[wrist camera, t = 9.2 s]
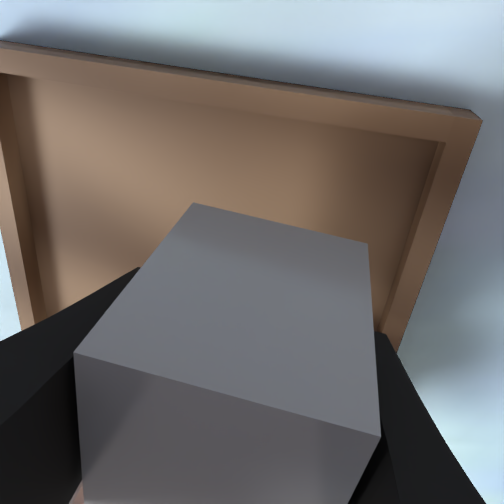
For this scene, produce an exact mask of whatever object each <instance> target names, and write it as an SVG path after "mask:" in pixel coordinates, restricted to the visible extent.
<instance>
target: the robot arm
mask: <svg viewBox="0 0 504 504" xmlns="http://www.w3.org/2000/svg"><path fill="white" fill-rule="evenodd" d="M139 269H140V267H137V268H135V269H133V270H132V271H130V272H128V273H126V274H124V275H123V276H121V277H119V278H117V279H116V280H114V281H112V282H111V283H109V284H107V285H105V286H104V287H102V288H100V289H99V290H97V291H95V292H93V293H92V294H90V295H88V296H86V297H85V298H83V299H81V300H79V301H77V302H76V303H74V304H72V305H70V306H68V307H67V308H65V309H63V310H61V311H59V312H58V313H56V314H54V315H52V316H50V317H48V318H46V319H44V320H42V321H40V322H38V323H36V324H34V325H32V326H30V327H28V328H26V329H24V330H22V331H20V332H18V333H16V334H14V335H12V336H10V337H8V338H6V339H4V340H2V341H0V504H69V502H70V500H71V499H72V497H73V495H74V493H75V492H76V490H77V488H78V486H79V484H80V483H81V481H82V469H81V454H80V440H79V426H78V411H77V397H76V383H75V368H74V354H73V352H74V351H75V350H76V348H77V347H78V346H79V345H80V343H81V342H82V341H83V340H84V338H85V337H86V336H87V335H88V333H89V332H90V331H91V330H92V328H93V327H94V326H95V325H96V323H97V322H98V321H99V320H100V318H101V317H102V316H103V315H104V313H105V312H106V311H107V310H108V308H109V307H110V306H111V305H112V303H113V302H114V301H115V300H116V298H117V297H118V296H119V294H120V293H121V292H122V291H123V289H124V288H125V287H126V286H127V284H128V283H129V282H130V281H131V279H132V278H133V277H134V276H135V274H136V273H137V272H138V271H139ZM374 341H375V356H376V370H377V385H378V399H379V414H380V428H381V438H380V440H379V442H378V444H377V446H376V448H375V450H374V452H373V454H372V456H371V458H370V460H369V462H368V464H367V466H366V468H365V470H364V472H363V474H362V476H361V478H360V480H359V482H358V484H357V486H356V488H355V490H354V492H353V494H352V496H351V498H350V500H349V502H348V504H486V503H485V501H484V500H483V498H482V497H481V496H480V494H479V493H478V491H477V490H476V488H475V487H474V485H473V484H472V482H471V481H470V479H469V478H468V476H467V475H466V473H465V472H464V470H463V469H462V467H461V466H460V464H459V462H458V461H457V459H456V458H455V456H454V455H453V453H452V452H451V450H450V448H449V447H448V445H447V444H446V442H445V440H444V439H443V437H442V435H441V434H440V432H439V430H438V428H437V427H436V425H435V423H434V422H433V420H432V418H431V416H430V415H429V413H428V411H427V409H426V408H425V406H424V404H423V402H422V401H421V399H420V397H419V395H418V393H417V391H416V390H415V388H414V386H413V384H412V382H411V380H410V378H409V377H408V375H407V373H406V371H405V369H404V367H403V365H402V363H401V361H400V359H399V357H398V355H397V353H396V352H395V350H394V348H393V346H392V344H391V342H390V340H389V338H388V337H387V335H386V334H384V333H380V332H377V331H374Z"/></svg>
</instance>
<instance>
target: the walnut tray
mask: <svg viewBox="0 0 504 504" xmlns="http://www.w3.org/2000/svg"><path fill="white" fill-rule="evenodd" d="M482 121H483V120H481V119H480V118H479V117H478V116H477V115H476V114H475V113H473V112H472V111H471V110H468V109H461V108H454V107H447V106H441V105H434V104H427V103H420V102H414V101H407V100H400V99H393V98H387V97H380V96H373V95H366V94H360V93H353V92H346V91H339V90H333V89H326V88H319V87H312V86H305V85H299V84H292V83H285V82H278V81H272V80H265V79H258V78H251V77H245V76H238V75H231V74H224V73H218V72H211V71H204V70H197V69H191V68H184V67H177V66H170V65H164V64H157V63H150V62H143V61H137V60H130V59H123V58H116V57H109V56H103V55H96V54H89V53H82V52H76V51H69V50H62V49H55V48H49V47H42V46H35V45H28V44H22V43H15V42H8V41H1V40H0V229H1V234H2V239H3V243H4V248H5V253H6V258H7V263H8V268H9V272H10V277H11V282H12V287H13V292H14V296H15V301H16V306H17V311H18V316H19V320H20V325H21V330H24V329H26V328H28V327H30V326H32V325H34V324H36V323H38V322H40V321H42V320H44V319H46V318H48V317H50V316H52V315H54V314H56V313H58V312H59V311H61V310H63V309H65V308H67V307H68V306H70V305H72V304H74V303H76V302H77V301H79V300H81V299H83V298H85V297H86V296H88V295H90V294H92V293H93V292H95V291H97V290H99V289H100V288H102V287H104V286H105V285H107V284H109V283H111V282H112V281H114V280H116V279H117V278H119V277H121V276H123V275H124V274H126V273H128V272H130V271H132V270H133V269H135V268H137V267H140V268H141V267H142V266H143V264H144V263H145V262H146V261H147V259H148V258H149V257H150V256H151V254H152V253H153V252H154V251H155V249H156V248H157V247H158V246H159V244H160V243H161V242H162V241H163V239H164V238H165V237H166V236H167V234H168V233H169V232H170V231H171V229H172V228H173V227H174V226H175V224H176V223H177V222H178V221H179V219H180V218H181V217H182V216H183V214H184V213H185V212H186V210H187V209H188V208H189V207H190V205H191V204H192V203H193V202H194V203H198V204H203V205H207V206H211V207H215V208H220V209H224V210H228V211H232V212H236V213H241V214H245V215H249V216H253V217H257V218H262V219H266V220H270V221H274V222H279V223H283V224H287V225H291V226H295V227H300V228H304V229H308V230H312V231H316V232H321V233H325V234H329V235H333V236H338V237H342V238H346V239H350V240H354V241H359V242H363V243H367V244H368V254H369V269H370V283H371V298H372V312H373V327H374V331H377V332H380V333H384V334H386V335H387V337H388V338H389V340H390V342H391V344H392V346H393V348H394V350H395V352H396V353H397V351H398V348H399V345H400V342H401V340H402V337H403V334H404V332H405V329H406V326H407V324H408V321H409V318H410V315H411V313H412V310H413V307H414V305H415V302H416V299H417V297H418V294H419V291H420V289H421V286H422V283H423V280H424V278H425V275H426V272H427V270H428V267H429V264H430V262H431V259H432V256H433V254H434V251H435V248H436V245H437V243H438V240H439V237H440V235H441V232H442V229H443V227H444V224H445V221H446V218H447V216H448V213H449V210H450V208H451V205H452V202H453V200H454V197H455V194H456V192H457V189H458V186H459V183H460V181H461V178H462V175H463V173H464V170H465V167H466V165H467V162H468V159H469V157H470V154H471V151H472V148H473V146H474V143H475V140H476V138H477V135H478V132H479V130H480V127H481V124H482Z"/></svg>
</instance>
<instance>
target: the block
mask: <svg viewBox="0 0 504 504" xmlns="http://www.w3.org/2000/svg"><path fill="white" fill-rule="evenodd" d="M73 354H74V368H75V383H76V397H77V411H78V426H79V440H80V454H81V469H82V483H83V497H84V504H348V502H349V500H350V498H351V496H352V494H353V492H354V490H355V488H356V486H357V484H358V482H359V480H360V478H361V476H362V474H363V472H364V470H365V468H366V466H367V464H368V462H369V460H370V458H371V456H372V454H373V452H374V450H375V448H376V446H377V444H378V442H379V440H380V438H381V428H380V414H379V399H378V385H377V370H376V356H375V341H374V327H373V312H372V298H371V283H370V269H369V254H368V244H367V243H363V242H359V241H354V240H350V239H346V238H342V237H338V236H333V235H329V234H325V233H321V232H316V231H312V230H308V229H304V228H300V227H295V226H291V225H287V224H283V223H279V222H274V221H270V220H266V219H262V218H257V217H253V216H249V215H245V214H241V213H236V212H232V211H228V210H224V209H220V208H215V207H211V206H207V205H203V204H198V203H194V202H193V203H192V204H191V205H190V207H189V208H188V209H187V210H186V212H185V213H184V214H183V216H182V217H181V218H180V219H179V221H178V222H177V223H176V224H175V226H174V227H173V228H172V229H171V231H170V232H169V233H168V234H167V236H166V237H165V238H164V239H163V241H162V242H161V243H160V244H159V246H158V247H157V248H156V249H155V251H154V252H153V253H152V254H151V256H150V257H149V258H148V259H147V261H146V262H145V263H144V264H143V266H142V267H141V268H140V269H139V271H138V272H137V273H136V274H135V276H134V277H133V278H132V279H131V281H130V282H129V283H128V284H127V286H126V287H125V288H124V289H123V291H122V292H121V293H120V294H119V296H118V297H117V298H116V300H115V301H114V302H113V303H112V305H111V306H110V307H109V308H108V310H107V311H106V312H105V313H104V315H103V316H102V317H101V318H100V320H99V321H98V322H97V323H96V325H95V326H94V327H93V328H92V330H91V331H90V332H89V333H88V335H87V336H86V337H85V338H84V340H83V341H82V342H81V343H80V345H79V346H78V347H77V348H76V350H75V351H74V352H73Z"/></svg>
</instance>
